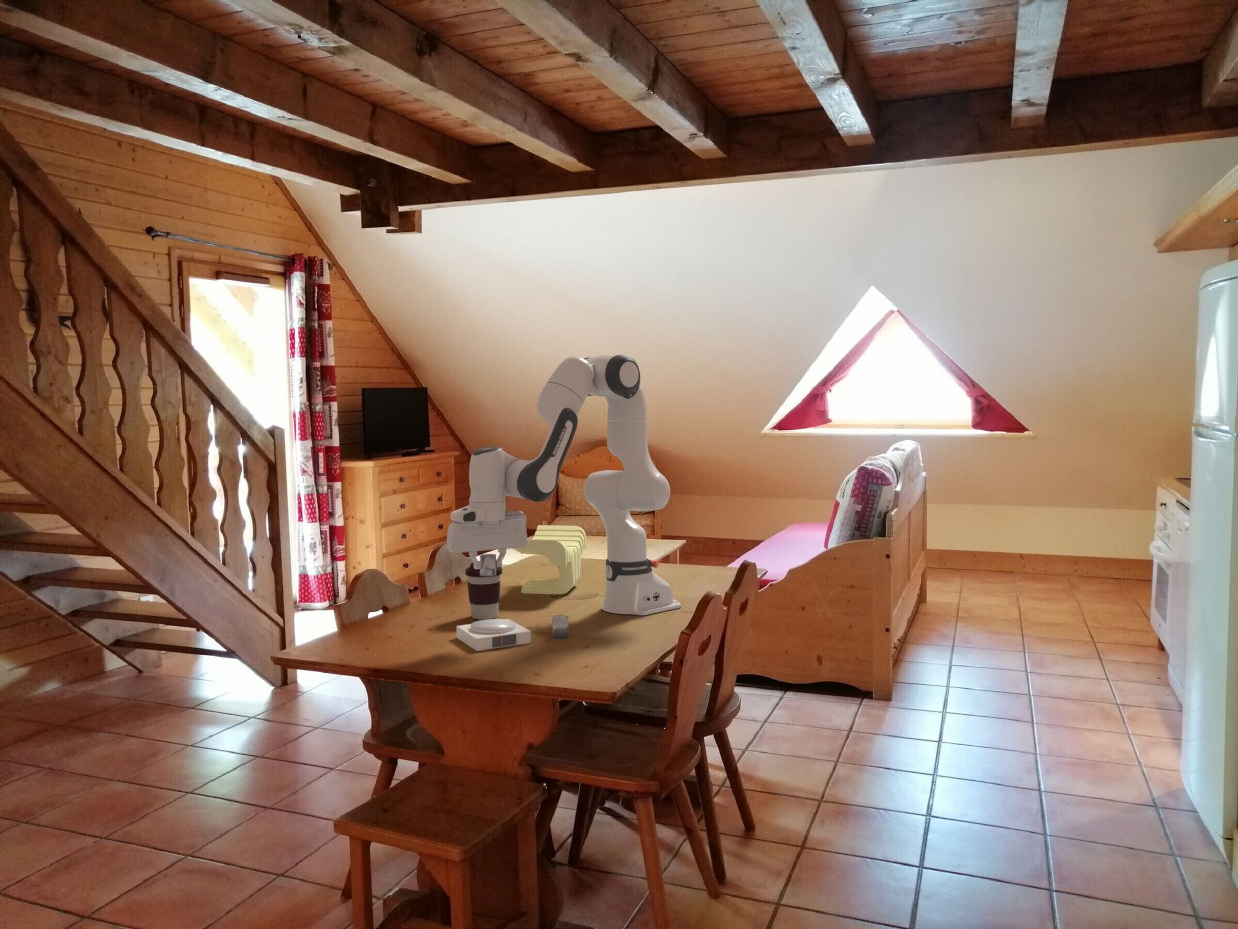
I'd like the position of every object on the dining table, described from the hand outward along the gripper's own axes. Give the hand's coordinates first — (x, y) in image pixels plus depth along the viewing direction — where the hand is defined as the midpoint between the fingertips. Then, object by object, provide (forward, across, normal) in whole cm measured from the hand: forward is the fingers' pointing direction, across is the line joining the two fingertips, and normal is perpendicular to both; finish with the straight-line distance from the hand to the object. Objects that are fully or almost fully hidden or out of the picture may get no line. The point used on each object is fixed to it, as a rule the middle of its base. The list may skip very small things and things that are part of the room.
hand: (487, 568), depth 235 cm
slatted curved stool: (+17, -38, -45) cm, 61 cm away
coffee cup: (+18, -7, -22) cm, 29 cm away
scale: (+18, 0, +2) cm, 18 cm away
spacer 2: (+18, -16, +7) cm, 25 cm away
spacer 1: (+2, 0, 0) cm, 2 cm away
